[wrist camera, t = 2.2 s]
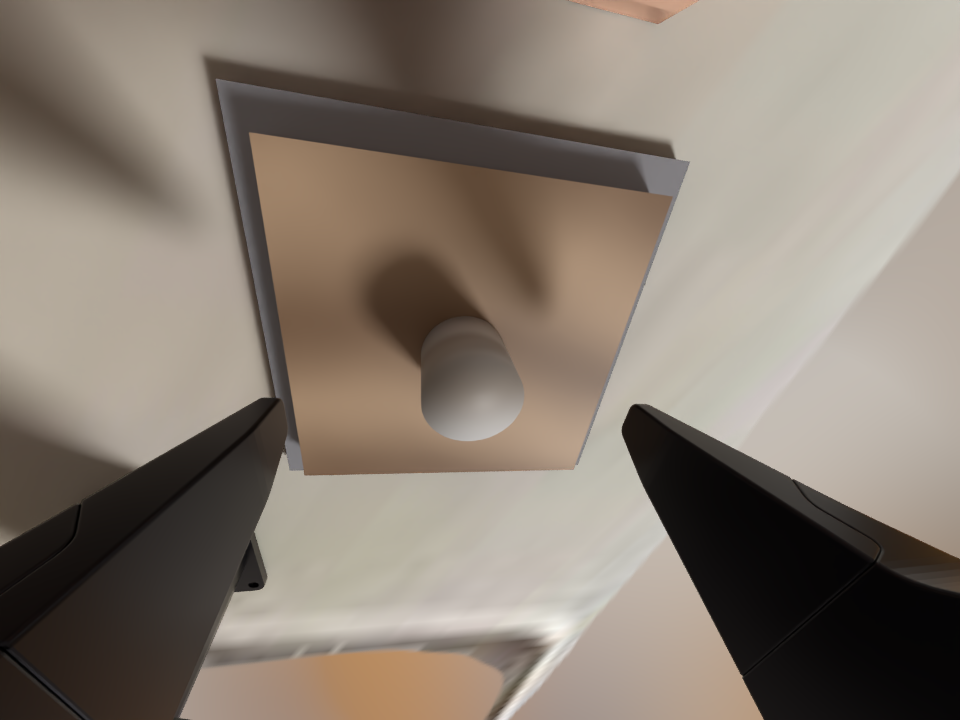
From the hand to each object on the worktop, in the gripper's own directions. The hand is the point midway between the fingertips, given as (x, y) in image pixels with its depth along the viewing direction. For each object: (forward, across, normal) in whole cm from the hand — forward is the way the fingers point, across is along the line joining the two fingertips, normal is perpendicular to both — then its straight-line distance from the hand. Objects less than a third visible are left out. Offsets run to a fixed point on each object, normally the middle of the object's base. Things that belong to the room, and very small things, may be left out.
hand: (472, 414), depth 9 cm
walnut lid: (+4, 0, 0) cm, 4 cm away
